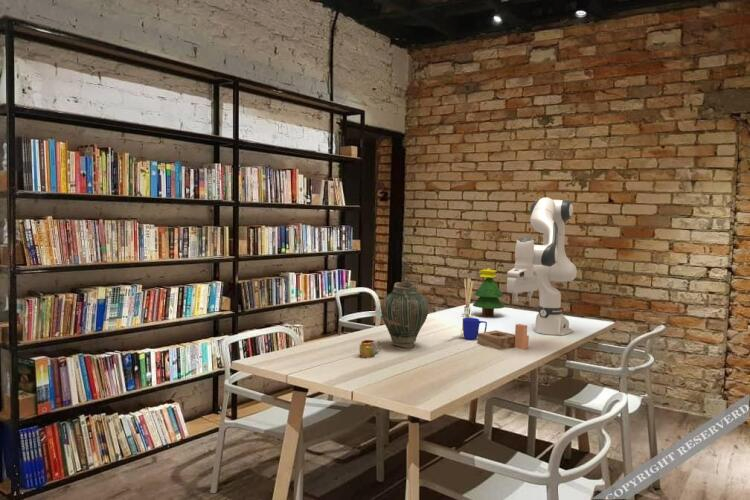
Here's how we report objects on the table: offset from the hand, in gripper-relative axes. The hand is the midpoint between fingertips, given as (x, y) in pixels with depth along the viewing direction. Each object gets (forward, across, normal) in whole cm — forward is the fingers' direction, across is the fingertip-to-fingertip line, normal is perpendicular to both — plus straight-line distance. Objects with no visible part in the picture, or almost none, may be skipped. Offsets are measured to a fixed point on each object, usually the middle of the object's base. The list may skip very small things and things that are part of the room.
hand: (522, 301), depth 267 cm
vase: (+23, +44, -34) cm, 60 cm away
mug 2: (+23, +4, -25) cm, 34 cm away
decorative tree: (+22, -53, -63) cm, 85 cm away
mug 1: (+23, +68, -29) cm, 77 cm away
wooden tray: (+22, +4, -10) cm, 25 cm away
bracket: (+22, -1, 0) cm, 23 cm away
